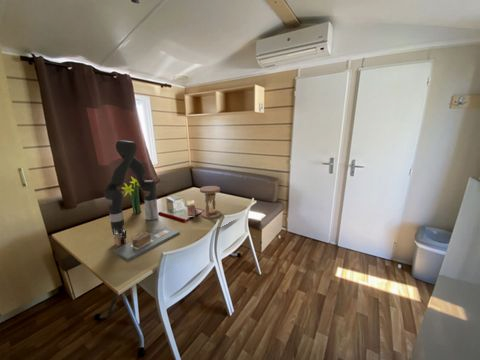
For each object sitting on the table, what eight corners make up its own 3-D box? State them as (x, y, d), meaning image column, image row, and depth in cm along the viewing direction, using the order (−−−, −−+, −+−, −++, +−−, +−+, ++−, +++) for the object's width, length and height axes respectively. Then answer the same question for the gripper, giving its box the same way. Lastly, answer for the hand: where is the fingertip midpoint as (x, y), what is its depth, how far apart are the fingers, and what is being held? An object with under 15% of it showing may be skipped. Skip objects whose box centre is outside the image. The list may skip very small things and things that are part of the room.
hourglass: (213, 221, 168) (212, 192, 163) (196, 216, 177) (195, 189, 171) (224, 213, 183) (224, 187, 178) (209, 210, 192) (208, 184, 186)
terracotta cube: (114, 243, 134) (113, 237, 133) (122, 240, 138) (121, 233, 137) (118, 246, 131) (117, 239, 130) (126, 242, 135) (125, 235, 134)
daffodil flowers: (132, 218, 173) (127, 179, 165) (122, 215, 180) (117, 177, 172) (150, 212, 187) (146, 175, 179) (140, 209, 194) (136, 173, 186)
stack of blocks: (187, 210, 193) (186, 197, 190) (193, 209, 195) (193, 197, 192) (188, 218, 173) (187, 205, 170) (195, 218, 175) (194, 204, 172)
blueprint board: (113, 252, 124) (113, 249, 124) (165, 228, 156) (164, 226, 155) (128, 260, 116) (128, 257, 116) (179, 233, 147) (179, 231, 147)
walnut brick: (133, 246, 127) (132, 239, 126) (144, 238, 137) (144, 232, 136) (139, 247, 126) (138, 240, 125) (150, 240, 135) (150, 233, 134)
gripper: (105, 218, 131) (109, 242, 135) (117, 223, 124) (120, 248, 128) (117, 214, 137) (120, 237, 141) (129, 219, 130) (132, 243, 134)
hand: (120, 242), depth 134 cm, fingers closed on terracotta cube, 5 cm apart
